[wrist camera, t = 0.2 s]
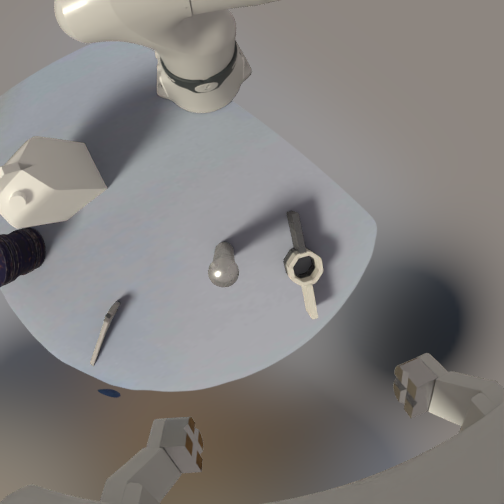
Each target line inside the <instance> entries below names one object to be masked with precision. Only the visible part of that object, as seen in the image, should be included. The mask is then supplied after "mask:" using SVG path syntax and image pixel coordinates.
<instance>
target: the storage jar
mask: <svg viewBox="0 0 504 504" xmlns="http://www.w3.org/2000/svg"><path fill="white" fill-rule="evenodd" d="M44 259H45V244H44V241H43V238H42V236H41V235H40V233H39V232H38V231H36V230H35V229H33V228H25V229H19V230H15V231H13V232H11V233H10V234H7V235H5V234H2V235H0V287H1V286H3V285H6V284H8V283H10V282H12V281H14V280H15V279H16V278H17V277H18V276H20V275H25V274H27V273H29V272H31V271H33V270H34V269H36V268H38V267H40V266H41V265H42V263H43V261H44Z"/></svg>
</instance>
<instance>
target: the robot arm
mask: <svg viewBox="0 0 504 504" xmlns="http://www.w3.org/2000/svg"><path fill="white" fill-rule="evenodd" d="M274 1H279V0H55V1H54V10H55V16H56V19H57V21H58V24H59V25H60V27H61V28H62V30H63V31H64V32H65V33H66V34H67V35H68V36H70V37H71V38H73V39H75V40H77V41H79V42H82V43H86V44H89V43H96V42H106V41H119V42H128V43H134V44H138V45H142V46H145V47H148V48H151V49H153V50H155V56H156V59H158V65H157V94H158V96H160V97H162V98H165V99H169V100H172V101H173V102H175V103H176V104H177V105H178V106H179V107H181V108H183V109H185V110H187V111H190V112H195V113H208V112H212V111H216V110H218V109H221V108H222V107H224V106H226V105H227V104H228V103H230V102H231V101H232V100H233V98H234V97H235V96H236V94H237V93H238V91H239V88H240V86H241V84H242V83H243V82H244V81H245V80H246V79H247V78H248V77H249V76H250V75H251V67H250V65H249V64H248V62H247V60H246V58H245V57H244V55H243V53H242V51H241V50H240V48H239V46H238V44H237V42H236V41H235V36H236V23H235V19H234V17H233V15H232V13H231V12H230V11H229V10H228V9H232V8H239V7H248V6H256V5H261V4H265V3H270V2H274ZM244 66H245V67H244ZM161 86H163V87H161ZM395 375H396V377H397V378H396V379H395V381H394V386H393V388H394V393H395V396H396V398H397V399H398V401H399V402H401V403H404V404H405V405H404V410H405V411H406V412H407V414H408V415H409V416H410V418H414V417H416V416H418V415H420V414H423V413H425V412H427V411H429V412H431V413H432V414H435V415H437V416H439V417H441V418H444V419H446V420H449V421H451V422H453V423H455V424H458V425H460V426H461V428H460V431H459V433H458V434H457V435H455V436H453V437H451V438H450V439H448V440H446V441H445V442H443V443H441V444H439V445H437V446H436V447H434V448H432V449H430V450H428V451H426V452H424V453H422V454H420V455H418V456H416V457H414V458H412V459H410V460H408V461H405V462H403V463H401V464H399V465H397V466H394V467H392V468H390V469H387V470H385V471H382V472H380V473H377V474H375V475H372V476H370V477H367V478H364V479H361V480H358V481H355V482H352V483H349V484H346V485H343V486H340V487H337V488H333V489H330V490H326V491H322V492H319V493H315V494H311V495H306V496H302V497H298V498H293V499H288V500H283V501H277V502H271V503H265V504H504V388H503V387H502V386H501V385H500V384H499V383H498V382H497V381H493V380H489V379H484V378H479V377H475V376H470V375H466V374H461V373H457V372H453V371H451V372H448V371H447V370H445V368H444V367H442V366H441V365H440V364H439V363H438V362H437V361H436V360H435V359H434V358H433V357H432V356H431V355H430V354H428V353H425V354H423V355H421V356H419V357H417V358H414V359H413V360H410V361H408V362H405V363H403V364H401V365H398V366H396V368H395ZM202 451H203V439H202V436H201V433H200V431H199V430H198V429H196V428H195V422H194V420H193V418H192V417H182V418H167V419H155V420H154V422H153V425H152V429H151V432H150V436H149V440H148V443H147V447H146V448H143V449H141V450H140V451H139V452H138V453H137V454H136V455H135V456H134V457H132V458H131V459H130V460H129V461H128V462H127V463H125V464H124V465H123V466H122V467H121V468H120V469H119V470H117V471H116V472H115V473H114V474H113V475H112V476H110V477H109V478H108V479H107V480H106V483H105V486H104V490H103V493H102V496H101V499H100V502H99V501H94V500H89V499H84V498H79V497H75V496H71V495H67V494H63V493H59V492H56V491H52V490H49V489H46V488H43V487H40V486H37V485H27V486H24V487H22V488H20V489H18V490H17V491H15V492H13V493H12V494H10V495H8V496H6V497H5V498H4V499H3V500H2V501H1V502H0V504H160V501H161V500H162V499H163V498H164V496H165V495H166V494H167V493H168V491H169V490H170V488H171V487H172V486H173V485H174V484H175V482H176V481H177V480H178V478H179V477H180V476H181V473H192V472H202V460H203V459H202V457H201V456H200V454H201V453H202Z"/></svg>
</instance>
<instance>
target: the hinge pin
mask: <svg viewBox="0 0 504 504" xmlns="http://www.w3.org/2000/svg"><path fill="white" fill-rule="evenodd" d="M208 275H209V278H210V280H211V282H212V283H213V284H215V285H216V286H219V287H229V286H231V285H233V284H234V283H235V282H236V280H237V279H238V276H239V269H238V266H237V264H236V263H235V259H234V251H233V247H232V246H231V245H230V244H229V243H227V242H221V243H219V244H218V245H217V246H216V248H215V252H214V258H213V262H212V263H211V264H210V266H209V270H208Z"/></svg>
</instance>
